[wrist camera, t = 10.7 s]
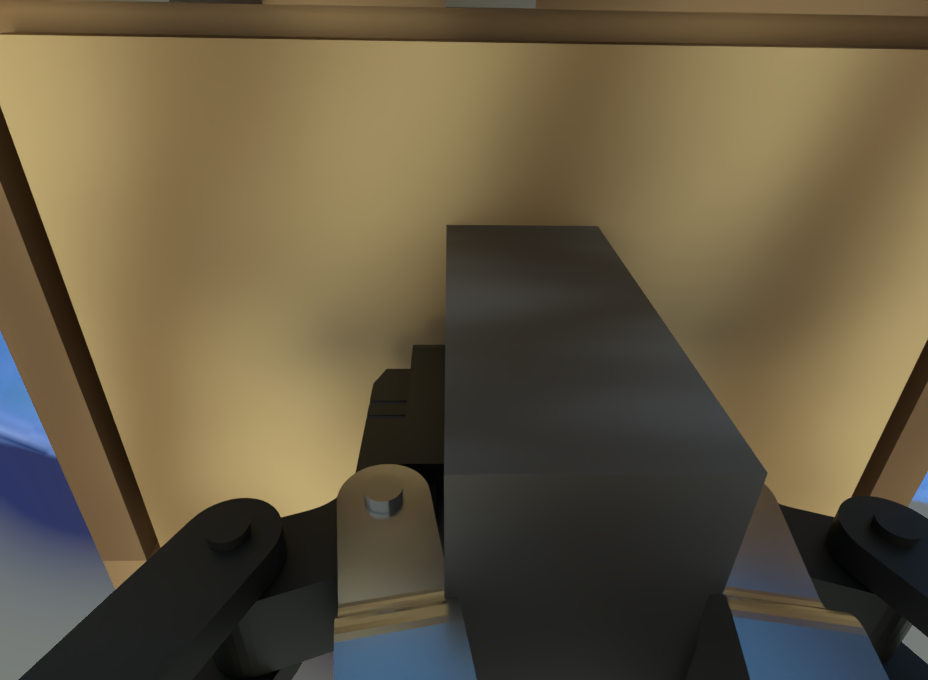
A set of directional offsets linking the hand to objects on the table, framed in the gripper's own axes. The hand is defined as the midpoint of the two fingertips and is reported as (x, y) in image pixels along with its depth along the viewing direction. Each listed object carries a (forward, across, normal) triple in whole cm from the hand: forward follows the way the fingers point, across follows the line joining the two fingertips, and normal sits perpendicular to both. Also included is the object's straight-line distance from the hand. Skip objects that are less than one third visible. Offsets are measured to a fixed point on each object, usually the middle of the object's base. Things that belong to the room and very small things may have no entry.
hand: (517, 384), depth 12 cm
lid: (+2, 0, 0) cm, 2 cm away
